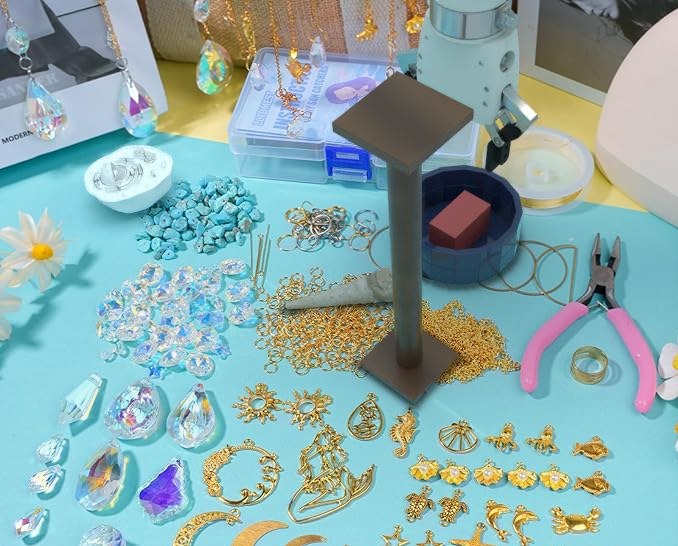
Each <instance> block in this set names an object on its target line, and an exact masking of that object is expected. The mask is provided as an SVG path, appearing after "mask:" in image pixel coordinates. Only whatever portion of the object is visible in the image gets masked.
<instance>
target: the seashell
mask: <svg viewBox="0 0 678 546" xmlns="http://www.w3.org/2000/svg"><path fill="white" fill-rule="evenodd" d="M383 302H385V303H391V302H392V303H393V289H392V269H391V268H389V267H384V268H381V269H376V271H374V272H373V273H370V274H366V275H362V276H361V277H360V278H356V279H351V281H350V282H346V283H343V284H341V285H337V286H335V287H332V288H328V289H327V290H321V291H318V292H316V293H313V294H308V295H306V296H303V297H299V298H297V299H293V300H290V301H287V302H286V304H285V308H286V310H299V309H312V308H313V309H315V308H324V307H328V308H329V307H330V308H331V307H338V306H347V305H352V306H355V305H357V304H361V305H366V304H368V303H370V304H371V303H373V304H376V303H383Z"/></svg>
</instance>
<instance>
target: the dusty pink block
mask: <svg viewBox="0 0 678 546" xmlns="http://www.w3.org/2000/svg"><path fill="white" fill-rule="evenodd" d="M490 207H491V204H489V203H487V202H485V201H483V200H482V199H480V198H478V197H476V196H474V195H473V194H471V193H469V192H467V191H465V190H464V191H463V192H462V193H461V194H460V195H459V196H458V197H457V198H456V199H455V200H454V201H452V202H451V203H450V204H449V205H448V206H447V207H446V208H445V209H444V210H443V211H442V212H440V213H439V214H438V215H437V216H436V217H435V218H434V219H433V220H432V221H431V222H430V223H429V242H430V243H431V244H433V245H435V246H440V247H444V248H449V249H454V250H461V249H468V248H470V247H471V246H472V245H473V244H474V243H475V242H476V241H477V240H478V239H479V238H480V237H481V236H482V235H483V234H484V233H485V232H486V231H487V230H488V229H489V218H490Z"/></svg>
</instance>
